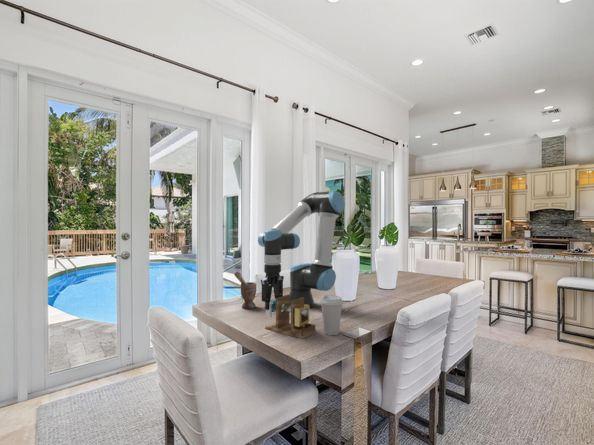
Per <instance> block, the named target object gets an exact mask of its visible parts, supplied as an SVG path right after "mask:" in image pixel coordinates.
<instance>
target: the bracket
mask: <svg viewBox="0 0 594 445" xmlns="http://www.w3.org/2000/svg"><path fill="white" fill-rule="evenodd" d="M282 305H285V306H290V295H289V294H285V295H283V296H282V297H278V298H276V314H275V322H272V323H270V324H268V325H265V326H264V329H266V330H269V331H272V332H277V333H279V334H283V335H286V336H289V337H290V336H291V337H295V338H297V339H301V340H303V339H304V338H306V337H309V336H311V335H312V334H314V333H316V332H317V330H316V324H314V323H310V322H309V323H307V324H304V325H302V326H300V327H298V326H295V308H296V307H298V306H301V305H304V298H303V297H302V298H299V299H296V300H293V301H291V313H290V312H286V311H282ZM302 319H303V315H301V320H302Z"/></svg>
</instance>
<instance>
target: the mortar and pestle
mask: <svg viewBox="0 0 594 445" xmlns="http://www.w3.org/2000/svg"><path fill="white" fill-rule="evenodd" d="M234 277H235V278H236V279H237V280H238V281H239V282H240V295H241V298H242V300H243V301H244V302H243V303H242V306H241V309H243V310H252V309H254V308H256V307H257V306H256V303H254V300H255V298H256V294H257V282H255V281H254V282H252V281H250V282H249V281H245V280H244V278H243V276H242V274H241V273H240V272H239V271H235V272H234Z"/></svg>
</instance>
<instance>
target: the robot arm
mask: <svg viewBox="0 0 594 445" xmlns="http://www.w3.org/2000/svg"><path fill="white" fill-rule="evenodd" d="M345 204H346V203H345V199H344V197H343V195H342V193H341V192H339V191H337V190H336V191H335V190H334V191H333V190H330V191H317V192H313V193H311V194H308V195H307V196H305V197H304V198H303V199H301V200H300V201H299V202H298V203H297V205H296V207H295V208H293V210H291V211H290V212H289V213H288V214H287V215H286V216H285V217H283V218H282V219H281V220H279V221H278V223H276V224H274V226H273V227H271V229H266V230H265V231H264V232H261V233H259V235H258V237H257V242H258V245H259V246H260V247H262V248H264V249H263V250H264V256H263V257H264V266H263V267H264V268H263V270H264V273H265V275H264V279H263V278H262V279H260V284H261V302H264V310H265V317H267V318H272V313H273V315H274V314H275V315H276V311H275V312H271V302H270V300H272V292H273V295H274V296H273V297H274V299H275V300H276V298H278V297H282V296H284V277H285V276H283V275H281V274H280V273H281V272H282V264H281V263H282V251H283V250H294V249H298V247H299V246H300V244H301V240H300V239H301V238H300V236H299V235H298V234H297V233H293V232H291V231H292V230H293V229H294V228H295V227H296V226H297V225H299V224H300V223H301V222H302V221H303V220H304V219H305V218H306V217H310V216H311V215H312V214H316V213H317V215H318V217H319V223H318V231H317V239H316V246H315V247H316V248H315V254H314V260H313V261H312V262H311V263H296V264H292V265H290V270H289V273H290V274H289V275H290V277H289V279H290V280H289V283H290V284H289V286H290V287H289V290H290V292H289V294H288V295H290V307H291V301H293V300H296V299H299V298H302V297H303V298H304V304H307V305H309V308H311V307H313V306H314V305H315V301H314V297H313V294H312V293H313V292H312V290H318V291H321V292H322V291H323V292H328V291H330V290H331V289H332V288H333V287H334V285H335V283H336V279H337V275H336V272H335V270H334V269H333V264H332V263H331V259H332V251H333V245H334V244H333V242H334V235H335V228H336V220H337V219H338V218H339V217H340V213H342V212H344V209H345Z"/></svg>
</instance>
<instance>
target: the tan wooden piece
mask: <svg viewBox="0 0 594 445" xmlns="http://www.w3.org/2000/svg"><path fill="white" fill-rule="evenodd" d="M303 310H307V311H308V314H307V316H304V315H303V319H302V320H301V311H303ZM307 323H310V307H309V305H307V304H304V305H301V306H298V307H296V308H295V326H298V327H300V326H302V325H304V324H307Z"/></svg>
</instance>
